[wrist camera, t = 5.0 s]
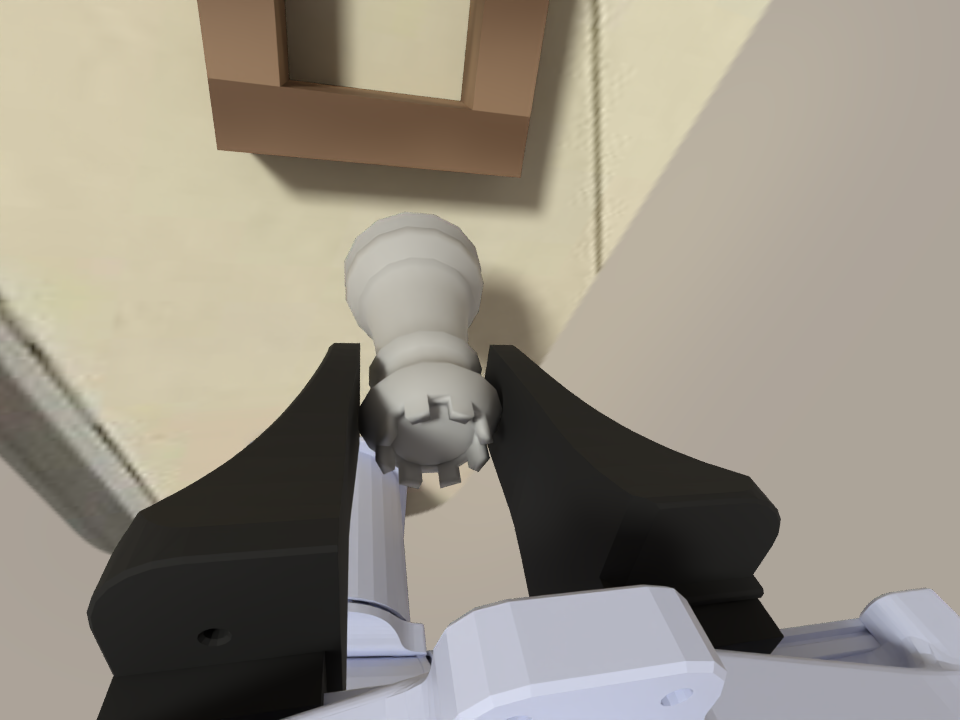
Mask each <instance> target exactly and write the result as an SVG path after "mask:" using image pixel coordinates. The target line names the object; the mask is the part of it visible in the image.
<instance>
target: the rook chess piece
mask: <svg viewBox="0 0 960 720" xmlns="http://www.w3.org/2000/svg"><path fill="white" fill-rule="evenodd" d="M483 284H484V283H483V279H482V275H481V266H480V263H479V259H478V255H477V252H476V248H475V246H474V245H473V244H472V242H471V241H470V240H469V239H468V238H467V236H466V235H465V234H464V233H463V232H462V230H461V229H460V228H459V227H458V226H456V225H454V224H452V223H450V222H448V221H446V220H444V219H442V218H440V217H438V216H436V215H434V214H423V213H411V212H403V213H400V214H396V215H393V216H390V217H386V218H383V219H380V220H377V221H376V222H374V223H373V224H372V225H371V226H370V227H368V228H367V229H366V230H365V231H364V232H362V233H361V234H360V235H359V236H358V237H356V238H355V240H354V243H353V245H352V247H351V249H350V251H349V253H348V255H347V257H346V259H345V287H346V301H347V303H348V305H349V307H350V309H351V311H352V313H353V315H354V317H355V319H356V321H357V323H358V325H359V327H360V328H361V329H363V330H364V331H365V332H366V333H367V335H368V336H369V337H370V338H371V339H373V342H374V346H375V351H376V357H375V358H374V360H373V362H372V364H371V365H370V367H369V386H370V387H371V389H370V391H369V392H368V394H367V396H366V397H365V399H364V401H363V402H362V404H361V406H360V407H359V409H358V431H359V432H360V434H361V436H362V437H363V439H364V441H365V442H366V444H367V446H368V447H369V448H370V449H371V450H373V451H374V452H375V461H376V463H377V464H378V466H379V468H380V469H381V471H382V473H383V474H386V473H388V472H391V471H393V470H395V466H396V467H397V468H398V474H399V484H400V485H404V486H408V487H412V488H417V489H419V488H420V485H421V483H422V473H435V472H438V474H439V482H440V488H443V487H447V486H450V485H454V484H457V483H461V478H460V472H459V466H460V465H462V464H464V463H465V462H467V461H468V465H469V468H471V469H473V470H475V471H477V472H479V471H480V469H481V468H482V467H483V466H484V465H485V463H486V462H487V461H488V460H489V458H490V457H489V453H488V448H487V444H490V443H493V439H492V435H493V434H494V432H495V431H496V430H497V428H498V424H499V420H500V416H501V412H502V407H501V404H500V400H499V397H498V394H497V390H496V389H495V388H494V387H493V386H492V385H491V384H490V383H489V382H488V381H487V380H486V379H484V378H483V377H482V376H481V371H482V368H481V365H480V362H479V359H478V356H477V353H476V352H475V351H474V350H473V349H472V348H471V347H470V346H469V345H468V328H469V326H470V325H471V323H472V321H473V319H474V318H475V316H476V315H477V313H478V312H479V307H480V301H481V295H482V290H483Z"/></svg>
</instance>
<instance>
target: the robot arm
mask: <svg viewBox="0 0 960 720" xmlns="http://www.w3.org/2000/svg"><path fill="white" fill-rule="evenodd" d="M485 379H486V380H487V381H488V382H489V383H490V384H491V385H492V386H493V387H494V388H495V389H496V390H497V394H498V397H499V400H500V404H501V407H502V412H501V416H500V420H499V424H498V428H497V430H496V431H495V432H494V434H493V435H492V439H493V443H490V444H487V445H488V448H489V451H490V454H491V457H492V460H493V463H494V466H495V469H496V472H497V475H498V478H499V481H500V483H501V486H502V489H503V492H504V495H505V498H506V501H507V504H508V507H509V509H510V513H511V516H512V520H513V523H514V527H515V531H516V535H517V540H518V545H519V549H520V554H521V558H522V563H523V568H524V573H525V578H526V583H527V588H528V592H529V597H524V598H514V599H506V600H502V601H498V602H495V603H491V604H487V605H483V606H479V607H476V608H474V609H472V610H471V611H469V612H467V613H466V614H464V615H463V616H461V617H460V618H458V619H457V620H455V621H453V622H452V623H450V624H449V626H448V627H447V628H446V629H445V631H444V633H443V634H442V636H441V637H440V639H439V641H438V642H437V644H436V646H435V647H434V650H431V651H426V641H425V631H424V625H423V624H422V623H412V622H410V614H409V601H408V588H407V576H406V563H405V552H404V539H403V538H404V525H405V511H406V498H407V486H404V485H400V484H399V474H398V468H397V467H396V466H395V470H393V471H391V472H388V473H386V474H383V473H382V471H381V469H380V468H379V466H378V464H377V463H376V461H375V452H374V451H373V450H371V449H370V448H369V447H368V446H367V444H366V442H365V441H364V439H363V437H360V432H359V431H358V409H359V407H360V343H334V344H333V345H331V346H330V347H329V349H328V352H327V354H326V356H325V357H324V359H323V361H322V363H321V364H320V366H319V367H318V369H317V370H316V372H315V373H314V375H313V376H312V378H311V379H310V380H309V382H308V383H307V385H306V386H305V387H304V389H303V390H302V391H301V393H300V394H299V395H298V396H297V397H296V398H295V400H294V401H293V402H292V403H291V404H290V406H289V407H288V408H287V409H286V410H285V411H284V412H283V413H282V414H281V416H280V417H279V418H278V419H277V420H276V421H275V422H274V423H273V424H272V425H271V426H270V427H268V428H267V429H266V430H265V431H264V432H263V433H262V434H261V435H260V436H259V437H258V438H256V439H255V440H254V441H252V442H251V443H250V444H249V445H248V446H247V447H246V448H244V449H243V450H242V451H241V452H239V453H238V454H237V455H235V456H234V457H233V458H231V459H230V460H229V461H227V462H226V463H224V464H223V465H221V466H220V467H218V468H217V469H215V470H214V471H212V472H211V473H209V474H207V475H206V476H204V477H203V478H201V479H199V480H198V481H196V482H194V483H193V484H191V485H189V486H187V487H186V488H184V489H182V490H180V491H178V492H176V493H174V494H173V495H171V496H169V497H167V498H165V499H163V500H161V501H159V502H157V503H156V504H154V505H152V506H150V507H148V508H146V509H144V510H142V511H140V512H139V513H138V514H137V515H136V517H135V519H134V520H133V522H132V523H131V525H130V526H129V528H128V530H127V531H126V532H125V534H124V535H123V537H122V538H121V540H120V542H119V543H118V545H117V547H116V548H115V550H114V552H113V553H112V555H111V557H110V559H109V561H108V564H107V566H106V568H105V570H104V572H103V574H102V576H101V578H100V581H99V583H98V585H97V587H96V589H95V591H94V593H93V595H92V598H91V601H90V604H89V607H88V610H87V616H88V621H89V625H90V629H91V631H92V633H93V635H94V637H95V639H96V641H97V643H98V645H99V647H100V649H101V651H102V653H103V655H104V657H105V659H106V661H107V663H108V665H109V667H110V669H111V672H112V674H113V675H114V676H113V679H112V681H111V684H110V687H109V689H108V692H107V694H106V697H105V699H104V702H103V705H102V707H101V710H100V713H99V715H98V718H97V720H960V617H959V616H958V615H957V614H956V613H955V612H954V611H953V610H952V609H951V608H950V607H949V606H948V605H947V604H946V603H945V602H944V601H943V600H942V599H941V598H940V597H939V596H938V595H937V594H936V593H935V592H934V591H933V590H932V589H929V588H920V589H911V590H905V591H897V592H889V593H886V594H882V595H880V596H879V597H877V598H875V599H874V600H872V601H871V602H870V603H869V604H868V605H867V606H866V607H865V608H864V610H863V611H862V612H861V614H860V618H856V619H848V620H841V621H834V622H827V623H820V624H814V625H806V626H800V627H792V628H785V629H779V628H778V627H777V625H776V624H775V623H774V621H773V620H772V618H771V617H770V615H769V614H768V612H767V611H766V610H765V608H764V607H763V605H762V604H761V602H760V601H759V600H758V598H761V597H762V596H763V594H764V592H763V588H762V586H761V585H760V584H759V582H758V581H757V579H756V578H755V577H754V575H753V574H754V572H755V571H756V569H757V568H758V566H759V565H760V563H761V562H762V560H763V559H764V557H765V556H766V554H767V553H768V551H769V550H770V548H771V547H772V545H773V543H774V541H775V539H776V537H777V535H778V533H779V527H780V520H781V519H780V516H779V513H778V509H777V508H775V506H774V505H773V504H772V503H771V501H770V500H769V499H768V498H767V497H766V495H765V494H764V493H763V492H762V491H761V490H760V489H759V487H758V486H757V485H756V484H755V483H754V482H753V480H752V479H751V478H750V477H749V476H746V475H743V474H740V473H736V472H733V471H730V470H727V469H724V468H721V467H718V466H715V465H712V464H708V463H705V462H702V461H700V460H697V459H694V458H692V457H689V456H687V455H684V454H682V453H679V452H676V451H674V450H672V449H669V448H667V447H665V446H662V445H660V444H658V443H656V442H654V441H652V440H649V439H648V438H645V437H644V436H641V435H639V434H637V433H635V432H633V431H631V430H630V429H628V428H626V427H624V426H622V425H620V424H619V423H617V422H615V421H613V420H612V419H610V418H609V417H607V416H605V415H603V414H602V413H600V412H598V411H597V410H596V409H594V408H593V407H591V406H589V405H588V404H587V403H585V402H584V401H582V400H581V399H580V398H578V397H577V396H575V395H574V394H573V393H571V392H570V391H569V390H567V389H566V388H565V387H563V386H562V385H561V384H560V383H558V382H557V381H556V380H555V379H553V378H552V377H551V376H550V375H549V374H547V373H546V372H545V371H544V370H542V369H541V368H540V367H539V366H538V365H537V364H535V363H534V362H533V361H532V360H531V359H529V358H528V357H527V356H526V355H525V354H524V353H522V352H521V351H520V350H519V349H517V348H516V347H515V346H513V345H490V348H489V354H488V361H487V367H486V373H485Z"/></svg>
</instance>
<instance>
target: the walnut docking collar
mask: <svg viewBox="0 0 960 720" xmlns="http://www.w3.org/2000/svg"><path fill="white" fill-rule="evenodd" d="M197 3H198V11H199V18H200V25H201V33H202V40H203V47H204V55H205V62H206V69H207V77H208V84H209V91H210V99H211V106H212V113H213V121H214V128H215V135H216V143H217V150H224V151H235V152H246V153H257V154H268V155H278V156H289V157H300V158H311V159H322V160H333V161H344V162H355V163H366V164H376V165H387V166H398V167H409V168H420V169H431V170H442V171H453V172H464V173H475V174H485V175H496V176H507V177H518V178H520V176H521V170H522V164H523V158H524V152H525V146H526V140H527V134H528V128H529V121H530V115H531V109H532V103H533V97H534V91H535V85H536V79H537V73H538V67H539V61H540V54H541V48H542V42H543V36H544V30H545V24H546V18H547V12H548V6H549V0H470V11H469V21H468V31H467V42H466V52H465V62H464V73H463V83H462V93H461V101H455V100H447V99H439V98H431V97H423V96H415V95H407V94H399V93H391V92H383V91H375V90H367V89H359V88H351V87H343V86H335V85H327V84H319V83H311V82H303V81H295V80H290V78H289V62H288V45H287V29H286V13H285V0H197Z"/></svg>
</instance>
